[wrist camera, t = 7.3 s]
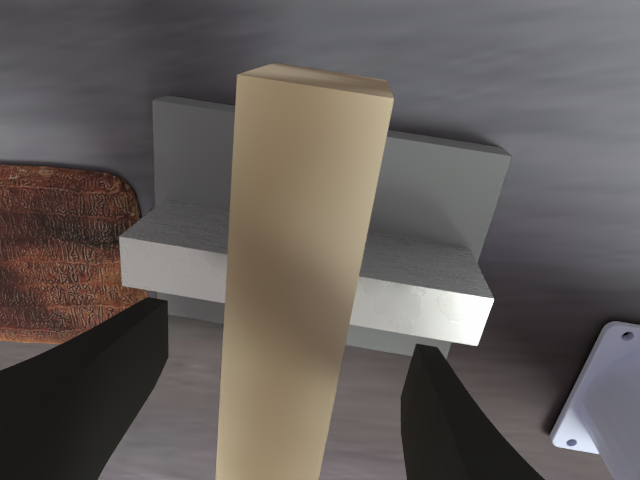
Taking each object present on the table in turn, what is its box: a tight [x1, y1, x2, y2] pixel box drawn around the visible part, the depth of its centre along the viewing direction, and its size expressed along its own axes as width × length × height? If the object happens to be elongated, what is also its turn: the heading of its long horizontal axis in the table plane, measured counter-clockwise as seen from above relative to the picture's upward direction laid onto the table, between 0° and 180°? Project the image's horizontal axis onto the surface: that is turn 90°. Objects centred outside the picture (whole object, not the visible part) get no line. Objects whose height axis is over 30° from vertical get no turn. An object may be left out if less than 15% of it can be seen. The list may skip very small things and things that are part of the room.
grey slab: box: [152, 95, 512, 359], centre depth 20 cm, size 14×10×2 cm
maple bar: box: [216, 63, 394, 480], centre depth 14 cm, size 3×16×4 cm, turn 172°
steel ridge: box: [119, 198, 494, 346], centre depth 18 cm, size 13×2×4 cm, turn 82°
